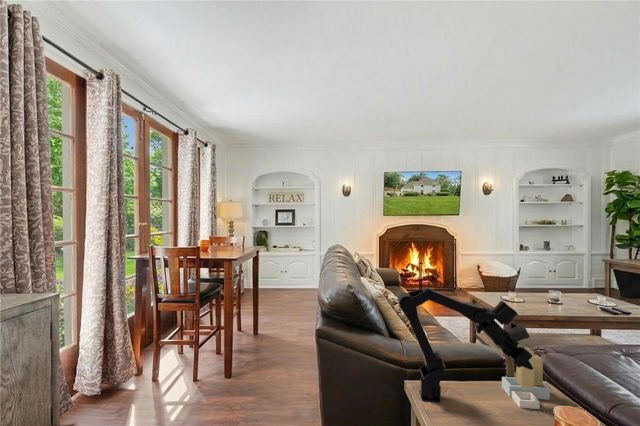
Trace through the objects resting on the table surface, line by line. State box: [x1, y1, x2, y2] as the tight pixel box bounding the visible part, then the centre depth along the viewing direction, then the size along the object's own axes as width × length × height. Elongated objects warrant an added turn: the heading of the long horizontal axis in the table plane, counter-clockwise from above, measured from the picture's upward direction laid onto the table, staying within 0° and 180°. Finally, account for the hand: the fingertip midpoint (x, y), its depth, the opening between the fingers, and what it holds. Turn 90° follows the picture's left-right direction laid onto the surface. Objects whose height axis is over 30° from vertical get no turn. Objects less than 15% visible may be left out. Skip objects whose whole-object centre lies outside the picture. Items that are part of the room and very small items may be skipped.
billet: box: [515, 346, 535, 388], centre depth 116 cm, size 4×4×12 cm
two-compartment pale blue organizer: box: [501, 376, 551, 401], centre depth 123 cm, size 14×7×4 cm, turn 82°
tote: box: [511, 391, 541, 410], centre depth 116 cm, size 6×6×2 cm
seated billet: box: [534, 353, 544, 387], centre depth 122 cm, size 4×4×12 cm
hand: (529, 366), depth 116 cm, fingers closed on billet, 4 cm apart
